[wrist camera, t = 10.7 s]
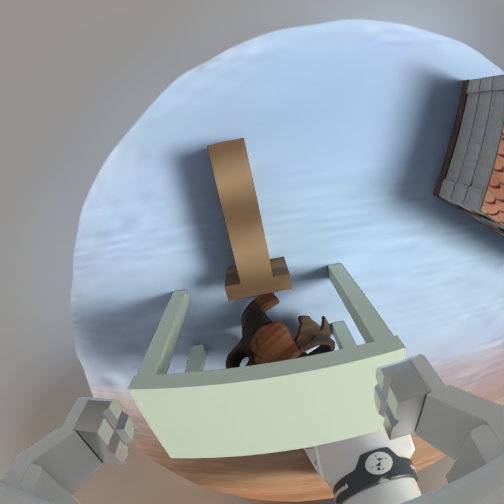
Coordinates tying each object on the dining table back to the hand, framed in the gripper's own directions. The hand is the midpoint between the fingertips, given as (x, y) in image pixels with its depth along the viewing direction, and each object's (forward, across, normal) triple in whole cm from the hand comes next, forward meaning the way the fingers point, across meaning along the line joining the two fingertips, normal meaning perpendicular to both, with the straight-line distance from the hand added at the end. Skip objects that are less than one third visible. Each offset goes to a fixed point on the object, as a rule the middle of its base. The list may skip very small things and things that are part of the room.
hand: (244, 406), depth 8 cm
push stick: (+24, 0, -1) cm, 24 cm away
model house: (+24, -35, -1) cm, 43 cm away
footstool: (+24, 0, +11) cm, 26 cm away
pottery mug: (+25, +1, +12) cm, 27 cm away
